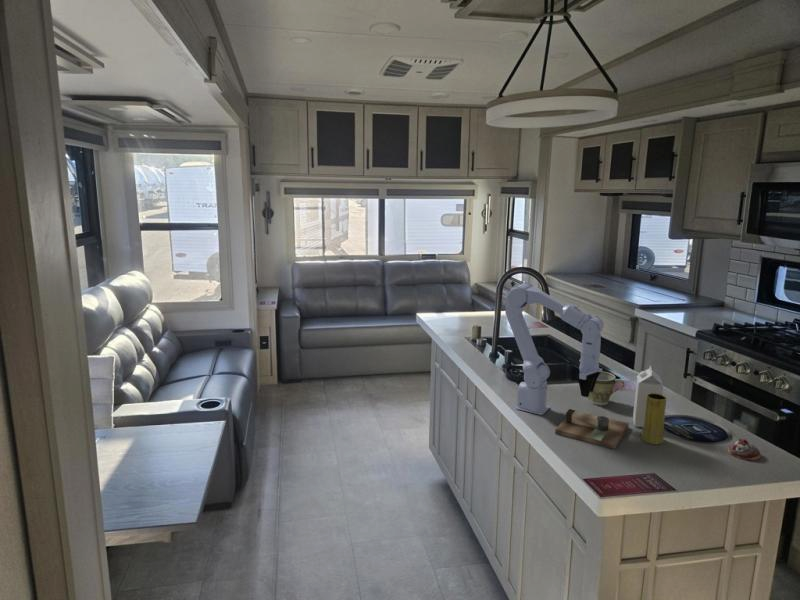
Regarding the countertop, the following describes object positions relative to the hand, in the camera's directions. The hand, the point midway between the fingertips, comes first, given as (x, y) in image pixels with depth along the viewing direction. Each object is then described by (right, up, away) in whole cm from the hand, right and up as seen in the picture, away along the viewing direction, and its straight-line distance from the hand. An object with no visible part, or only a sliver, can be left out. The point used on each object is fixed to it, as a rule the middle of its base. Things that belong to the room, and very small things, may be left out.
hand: (587, 393), depth 179 cm
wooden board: (0, -11, -5) cm, 12 cm away
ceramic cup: (+11, -6, +16) cm, 21 cm away
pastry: (+39, -15, -20) cm, 46 cm away
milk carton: (+19, -10, 0) cm, 21 cm away
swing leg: (-2, -9, -5) cm, 10 cm away
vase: (+16, -12, -11) cm, 23 cm away
